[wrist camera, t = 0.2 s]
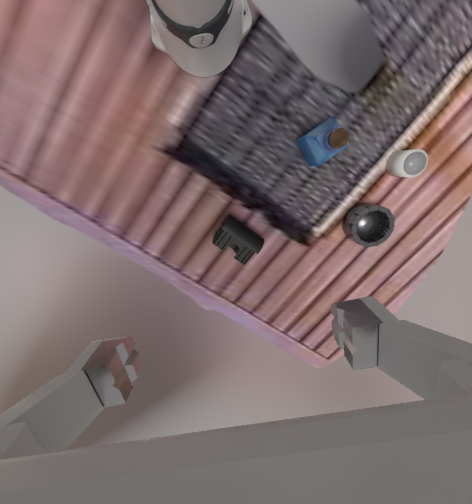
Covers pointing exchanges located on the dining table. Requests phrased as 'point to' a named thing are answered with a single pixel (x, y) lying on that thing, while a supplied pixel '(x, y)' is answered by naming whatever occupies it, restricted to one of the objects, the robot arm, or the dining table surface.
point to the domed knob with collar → (368, 224)
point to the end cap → (238, 239)
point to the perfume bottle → (323, 142)
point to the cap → (407, 163)
